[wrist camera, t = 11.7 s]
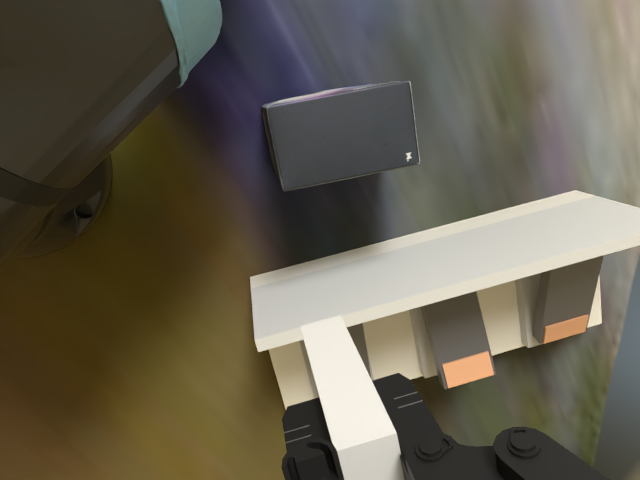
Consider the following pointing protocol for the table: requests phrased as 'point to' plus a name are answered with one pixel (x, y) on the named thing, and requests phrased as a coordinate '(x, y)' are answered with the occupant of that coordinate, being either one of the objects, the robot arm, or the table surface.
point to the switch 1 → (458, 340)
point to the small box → (341, 134)
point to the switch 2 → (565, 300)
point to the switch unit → (435, 284)
